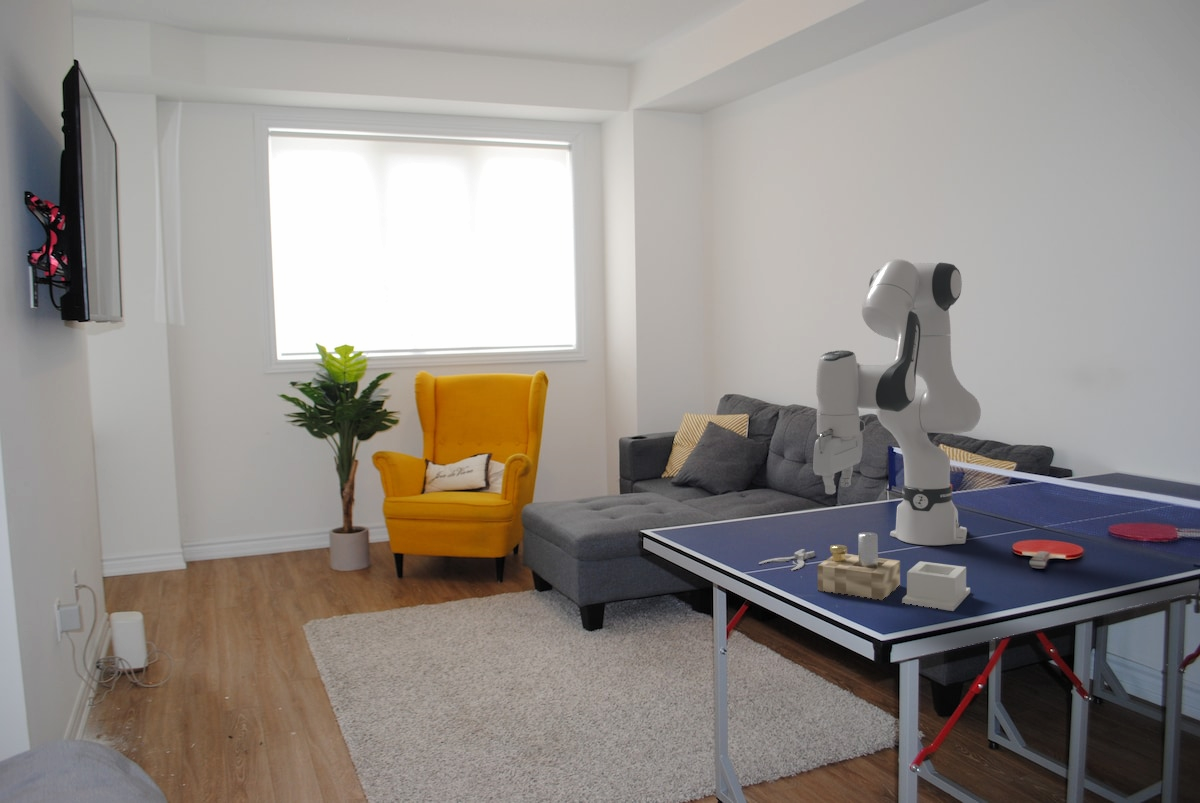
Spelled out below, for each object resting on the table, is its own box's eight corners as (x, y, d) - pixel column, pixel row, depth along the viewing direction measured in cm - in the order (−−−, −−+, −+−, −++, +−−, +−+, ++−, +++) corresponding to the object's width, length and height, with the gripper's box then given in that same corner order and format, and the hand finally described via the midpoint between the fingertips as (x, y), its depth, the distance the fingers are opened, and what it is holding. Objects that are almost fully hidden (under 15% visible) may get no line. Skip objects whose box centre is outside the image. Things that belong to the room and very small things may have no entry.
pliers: (757, 559, 217) (791, 546, 228) (757, 566, 217) (791, 553, 228) (793, 566, 210) (826, 553, 221) (793, 573, 210) (826, 559, 221)
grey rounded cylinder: (862, 585, 198) (861, 531, 197) (880, 588, 195) (880, 533, 194) (855, 590, 194) (855, 535, 193) (874, 593, 192) (874, 537, 191)
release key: (833, 580, 201) (833, 543, 200) (849, 582, 199) (849, 545, 198) (827, 584, 198) (827, 547, 197) (843, 586, 196) (843, 549, 195)
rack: (921, 585, 196) (921, 558, 196) (970, 592, 191) (970, 564, 190) (902, 603, 185) (902, 574, 184) (953, 611, 179) (953, 581, 179)
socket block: (837, 576, 205) (837, 552, 204) (900, 585, 197) (900, 560, 196) (817, 590, 195) (817, 565, 195) (882, 600, 187) (882, 574, 187)
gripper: (834, 432, 185) (835, 499, 186) (867, 422, 202) (867, 483, 203) (805, 431, 189) (805, 497, 190) (840, 421, 205) (840, 481, 207)
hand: (838, 489), depth 197 cm, fingers open, 8 cm apart
